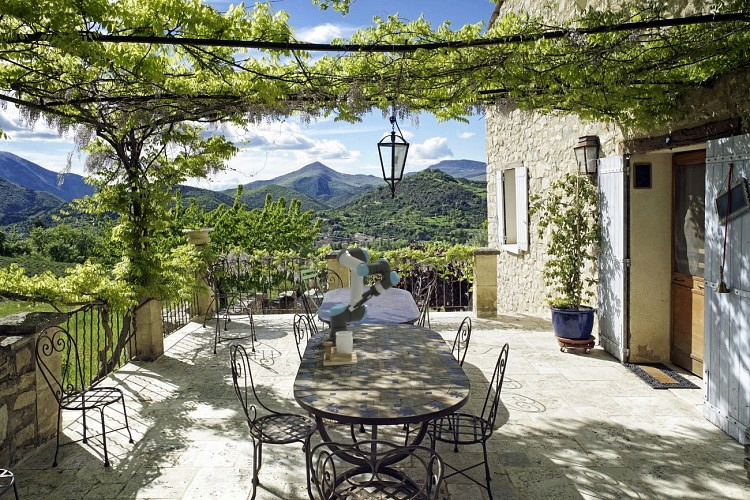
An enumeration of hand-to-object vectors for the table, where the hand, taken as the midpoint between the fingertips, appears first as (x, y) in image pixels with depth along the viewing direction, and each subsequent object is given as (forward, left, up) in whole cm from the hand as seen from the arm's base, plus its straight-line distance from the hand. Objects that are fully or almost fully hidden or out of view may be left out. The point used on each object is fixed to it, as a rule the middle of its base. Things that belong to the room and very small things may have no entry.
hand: (352, 306), depth 341 cm
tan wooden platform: (+18, -9, -29) cm, 35 cm away
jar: (+17, -6, -28) cm, 33 cm away
